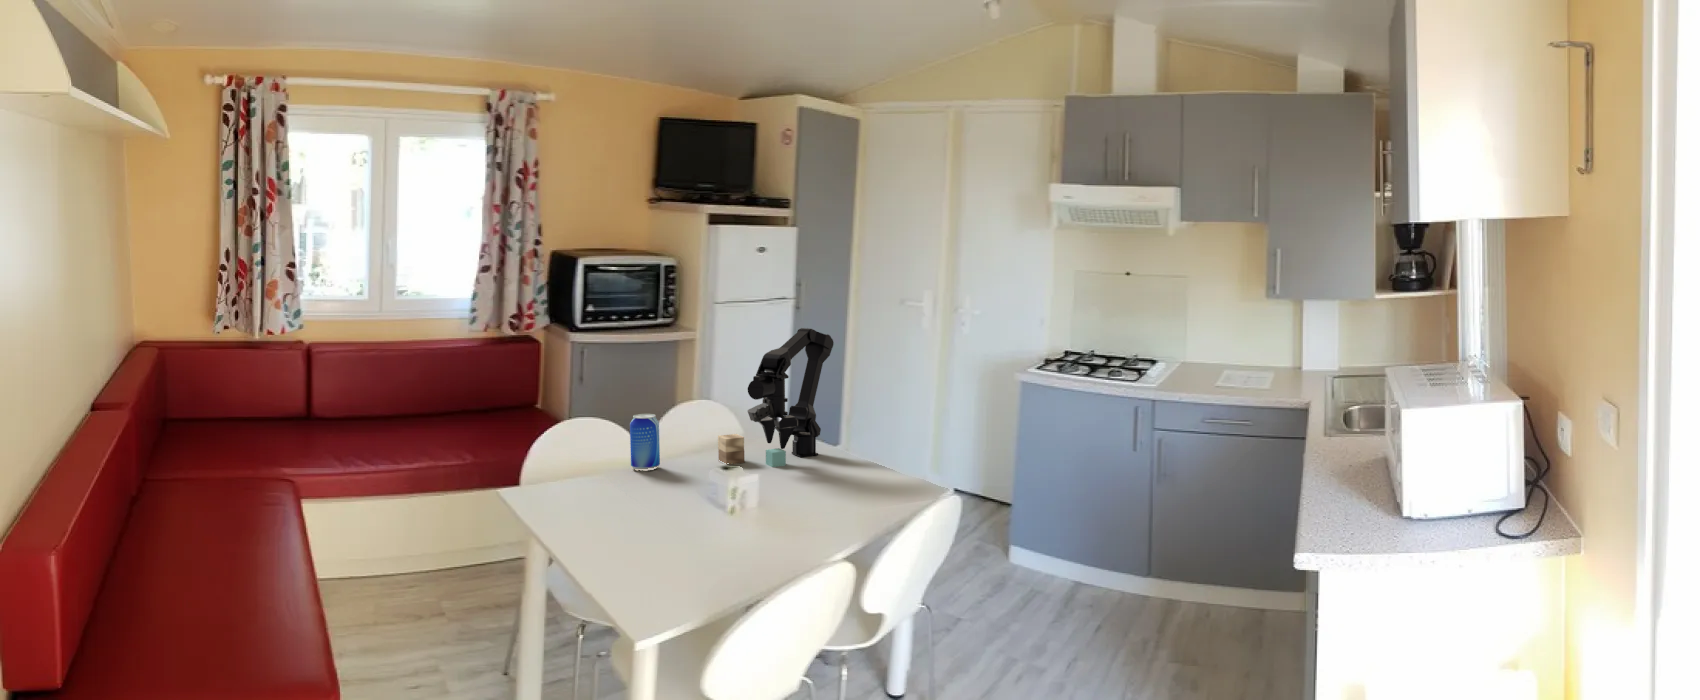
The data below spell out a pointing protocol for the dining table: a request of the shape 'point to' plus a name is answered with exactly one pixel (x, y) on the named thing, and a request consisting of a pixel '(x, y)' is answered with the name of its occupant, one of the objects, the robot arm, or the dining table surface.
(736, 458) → the tower base
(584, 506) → the dining table surface
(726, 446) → the tower top
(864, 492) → the dining table surface
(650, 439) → the beer can
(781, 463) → the teal cube
